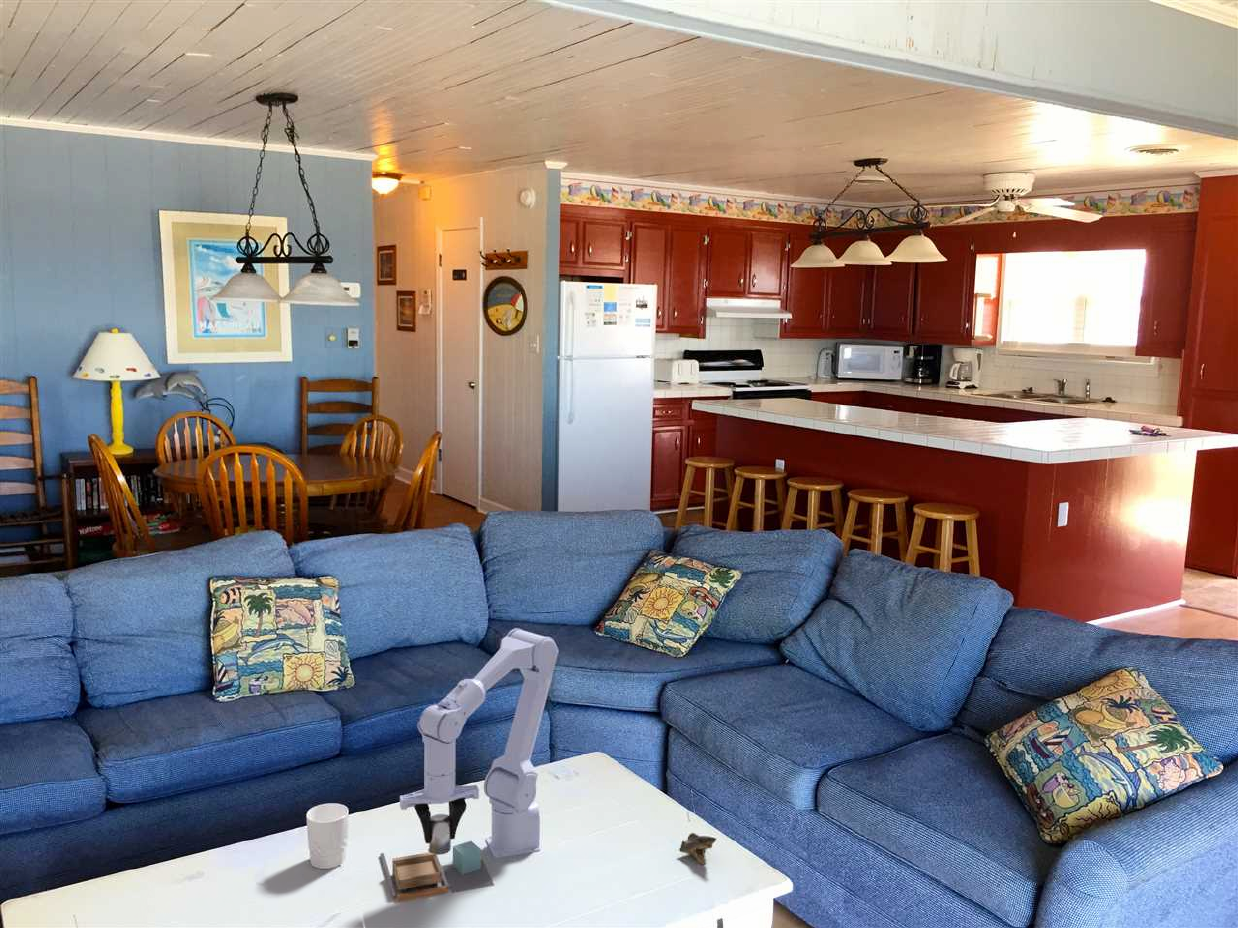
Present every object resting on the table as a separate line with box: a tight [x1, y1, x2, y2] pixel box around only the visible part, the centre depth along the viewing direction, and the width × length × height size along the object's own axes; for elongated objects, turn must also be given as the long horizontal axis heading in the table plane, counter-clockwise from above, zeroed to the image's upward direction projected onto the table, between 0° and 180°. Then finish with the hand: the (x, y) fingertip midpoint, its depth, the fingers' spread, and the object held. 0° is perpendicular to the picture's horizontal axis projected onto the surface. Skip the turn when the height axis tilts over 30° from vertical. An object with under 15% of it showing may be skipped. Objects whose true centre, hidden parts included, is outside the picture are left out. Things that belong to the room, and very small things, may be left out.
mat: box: [441, 858, 495, 894], centre depth 194 cm, size 8×10×1 cm
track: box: [379, 852, 450, 902], centre depth 194 cm, size 10×17×1 cm, turn 21°
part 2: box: [452, 840, 482, 875], centre depth 196 cm, size 4×4×4 cm
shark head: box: [678, 832, 717, 865], centre depth 202 cm, size 8×6×7 cm
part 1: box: [428, 813, 452, 856], centre depth 189 cm, size 4×4×6 cm
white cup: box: [305, 802, 349, 870], centre depth 198 cm, size 8×8×10 cm
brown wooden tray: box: [391, 851, 443, 893], centre depth 191 cm, size 8×8×4 cm
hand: (439, 838), depth 190 cm, fingers closed on part 1, 4 cm apart
